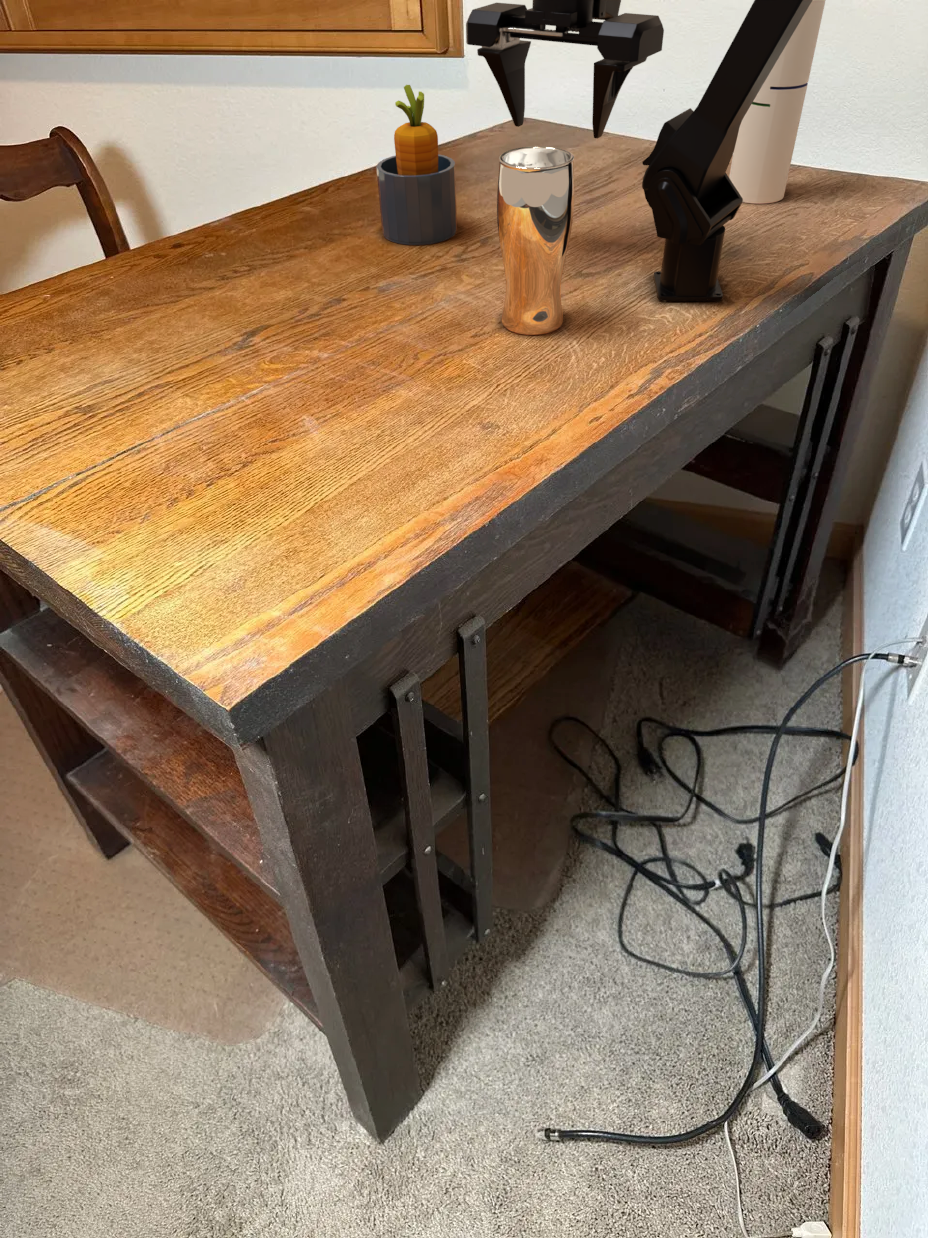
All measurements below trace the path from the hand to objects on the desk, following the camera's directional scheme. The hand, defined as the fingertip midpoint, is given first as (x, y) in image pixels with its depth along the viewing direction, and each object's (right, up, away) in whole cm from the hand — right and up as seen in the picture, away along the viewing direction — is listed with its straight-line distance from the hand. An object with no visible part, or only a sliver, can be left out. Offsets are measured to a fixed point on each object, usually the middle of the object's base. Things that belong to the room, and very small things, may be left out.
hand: (557, 131), depth 89 cm
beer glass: (-3, -21, -2) cm, 21 cm away
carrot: (-15, -3, +16) cm, 22 cm away
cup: (-15, -3, +17) cm, 22 cm away
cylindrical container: (+28, +5, +23) cm, 37 cm away
